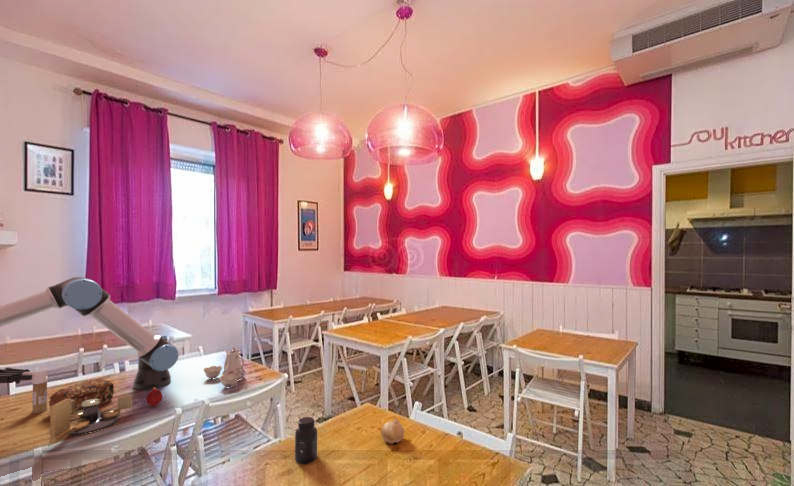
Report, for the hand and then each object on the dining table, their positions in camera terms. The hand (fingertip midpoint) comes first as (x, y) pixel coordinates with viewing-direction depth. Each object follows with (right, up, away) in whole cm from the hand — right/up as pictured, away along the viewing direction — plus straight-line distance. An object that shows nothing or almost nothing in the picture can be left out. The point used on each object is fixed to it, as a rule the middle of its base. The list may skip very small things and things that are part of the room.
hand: (44, 376), depth 130 cm
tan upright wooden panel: (+7, -20, +1) cm, 21 cm away
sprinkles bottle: (-23, -22, +22) cm, 39 cm away
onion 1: (+20, -22, +27) cm, 40 cm away
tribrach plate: (+8, -22, +13) cm, 26 cm away
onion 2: (+119, -23, +1) cm, 122 cm away
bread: (-9, -22, +27) cm, 36 cm away
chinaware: (+37, -23, +58) cm, 72 cm away
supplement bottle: (+92, -22, -10) cm, 95 cm away
